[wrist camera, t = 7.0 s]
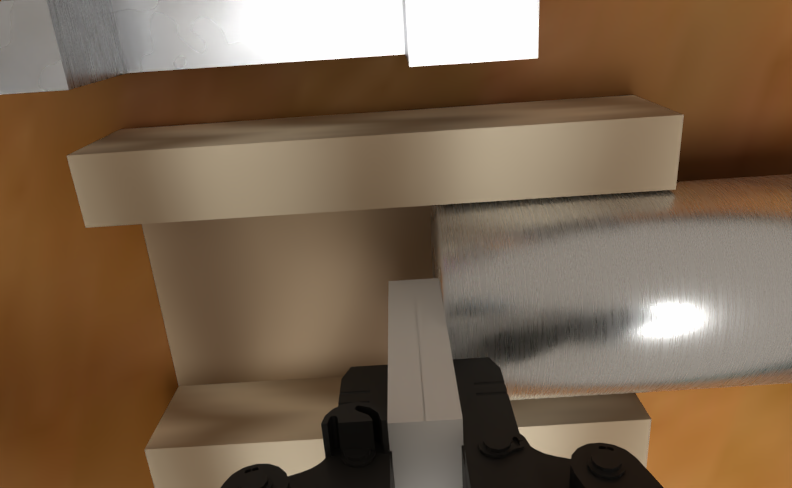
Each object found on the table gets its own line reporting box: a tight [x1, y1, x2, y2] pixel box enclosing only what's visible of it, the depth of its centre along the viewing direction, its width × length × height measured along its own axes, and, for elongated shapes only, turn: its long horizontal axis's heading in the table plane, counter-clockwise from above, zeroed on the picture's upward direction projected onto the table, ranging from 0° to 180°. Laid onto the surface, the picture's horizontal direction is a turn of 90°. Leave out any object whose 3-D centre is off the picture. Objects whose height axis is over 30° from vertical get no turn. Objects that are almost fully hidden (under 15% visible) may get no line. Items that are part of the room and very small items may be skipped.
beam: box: [67, 95, 684, 488], centre depth 20 cm, size 16×12×4 cm
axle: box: [431, 174, 792, 400], centre depth 18 cm, size 14×6×6 cm, turn 94°
